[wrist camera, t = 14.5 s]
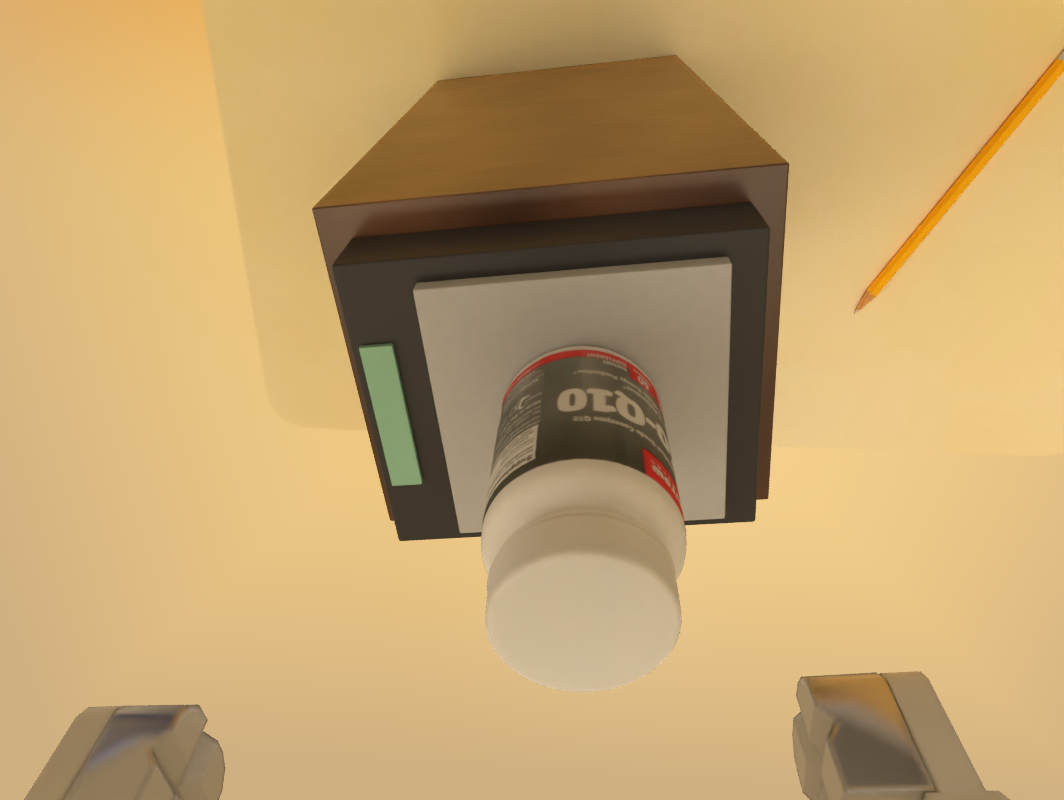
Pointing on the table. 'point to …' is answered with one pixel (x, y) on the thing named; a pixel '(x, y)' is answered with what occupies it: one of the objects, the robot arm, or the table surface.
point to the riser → (563, 169)
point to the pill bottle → (582, 524)
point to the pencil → (965, 179)
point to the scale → (558, 345)
